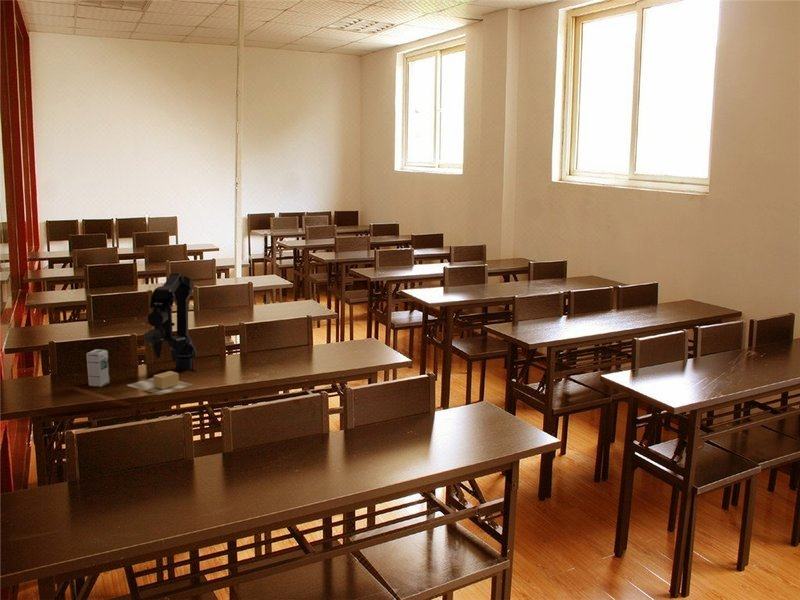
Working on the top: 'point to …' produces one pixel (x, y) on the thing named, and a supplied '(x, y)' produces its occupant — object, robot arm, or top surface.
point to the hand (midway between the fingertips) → (166, 359)
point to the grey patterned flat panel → (149, 386)
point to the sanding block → (166, 380)
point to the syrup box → (98, 367)
